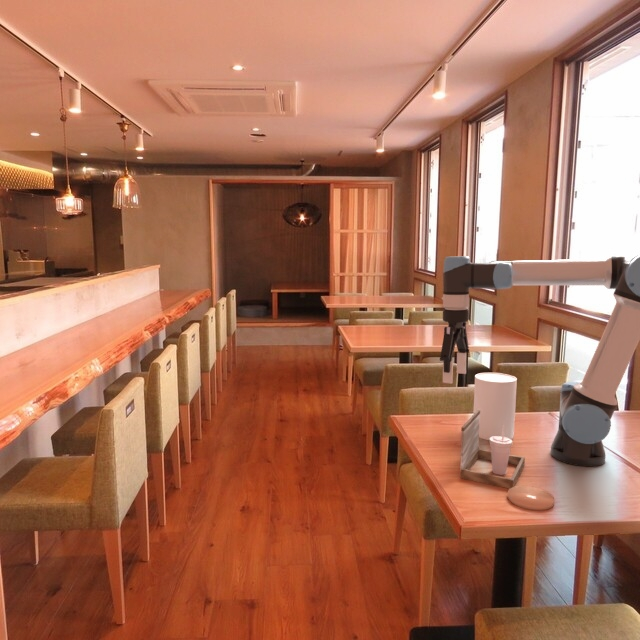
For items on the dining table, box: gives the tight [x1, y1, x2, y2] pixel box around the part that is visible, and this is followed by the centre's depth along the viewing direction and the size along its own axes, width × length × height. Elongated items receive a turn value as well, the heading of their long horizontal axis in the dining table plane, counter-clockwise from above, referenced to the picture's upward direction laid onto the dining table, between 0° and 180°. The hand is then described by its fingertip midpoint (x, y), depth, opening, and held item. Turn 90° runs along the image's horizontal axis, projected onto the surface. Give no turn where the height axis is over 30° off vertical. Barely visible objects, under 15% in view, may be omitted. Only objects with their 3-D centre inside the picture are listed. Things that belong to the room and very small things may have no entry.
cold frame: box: [459, 410, 526, 490], centre depth 154 cm, size 16×18×15 cm
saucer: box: [507, 485, 555, 511], centre depth 137 cm, size 11×11×1 cm
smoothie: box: [488, 425, 514, 476], centre depth 153 cm, size 6×6×14 cm
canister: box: [472, 372, 518, 441], centre depth 184 cm, size 14×14×20 cm
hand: (454, 378), depth 163 cm, fingers open, 13 cm apart
